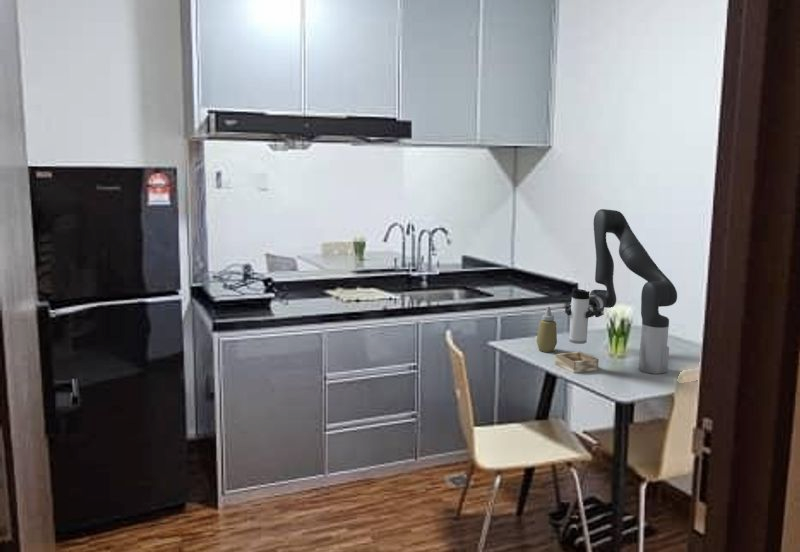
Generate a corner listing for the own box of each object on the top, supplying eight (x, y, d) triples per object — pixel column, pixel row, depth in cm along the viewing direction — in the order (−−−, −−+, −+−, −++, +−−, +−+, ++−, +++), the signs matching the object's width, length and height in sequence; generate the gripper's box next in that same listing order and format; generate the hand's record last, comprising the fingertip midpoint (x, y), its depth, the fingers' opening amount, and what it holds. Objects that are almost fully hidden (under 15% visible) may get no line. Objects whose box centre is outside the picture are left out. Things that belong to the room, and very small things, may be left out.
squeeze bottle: (546, 346, 285) (548, 304, 282) (560, 351, 278) (563, 307, 275) (531, 349, 280) (534, 306, 277) (546, 354, 274) (548, 309, 271)
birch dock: (578, 361, 264) (579, 351, 263) (597, 369, 254) (598, 359, 253) (555, 364, 259) (555, 354, 259) (573, 372, 250) (574, 362, 249)
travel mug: (564, 340, 257) (567, 287, 253) (579, 338, 260) (582, 286, 256) (575, 344, 251) (578, 291, 248) (590, 343, 254) (593, 289, 250)
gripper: (573, 294, 269) (559, 301, 254) (610, 298, 261) (598, 306, 247) (571, 312, 270) (557, 321, 256) (609, 317, 263) (596, 326, 248)
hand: (577, 314), depth 252 cm, fingers closed on travel mug, 6 cm apart
